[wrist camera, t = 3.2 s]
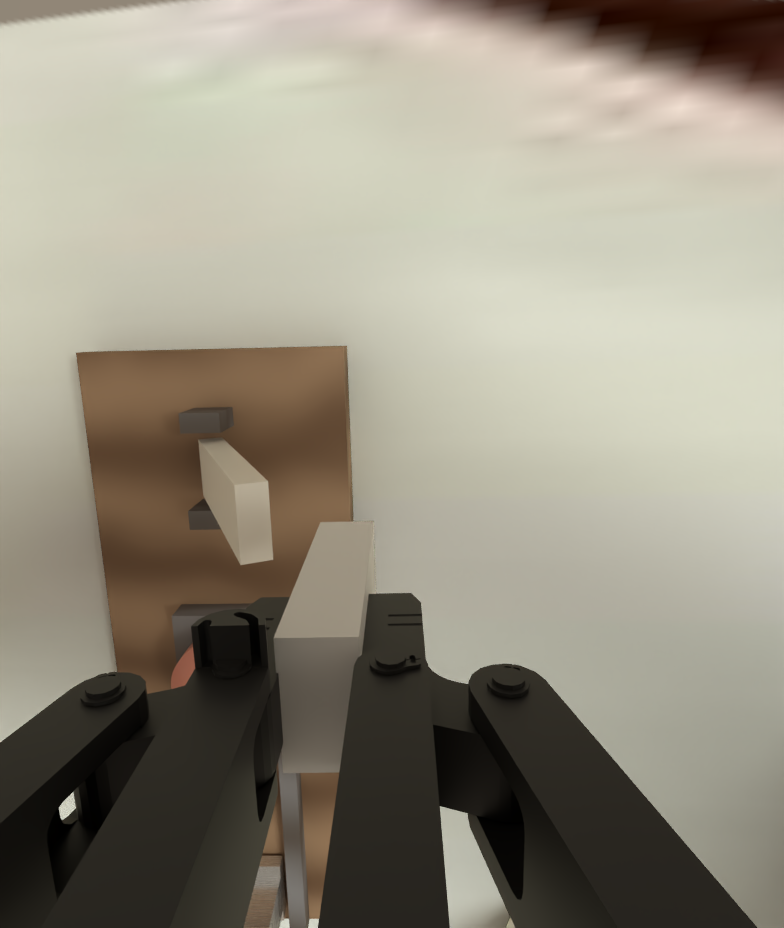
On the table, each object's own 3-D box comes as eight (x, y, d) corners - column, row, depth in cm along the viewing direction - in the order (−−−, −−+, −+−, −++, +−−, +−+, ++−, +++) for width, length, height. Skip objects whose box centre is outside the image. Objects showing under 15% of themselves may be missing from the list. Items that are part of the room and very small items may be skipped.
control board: (95, 351, 34) (49, 354, 29) (346, 345, 33) (338, 347, 29) (161, 890, 41) (133, 955, 37) (367, 890, 41) (362, 956, 37)
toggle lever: (198, 439, 31) (234, 485, 21) (222, 437, 32) (268, 481, 22) (203, 495, 32) (240, 565, 22) (226, 492, 32) (273, 559, 23)
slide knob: (218, 855, 38) (192, 929, 33) (282, 855, 38) (264, 929, 33) (223, 908, 39) (198, 987, 34) (286, 908, 39) (269, 987, 34)
